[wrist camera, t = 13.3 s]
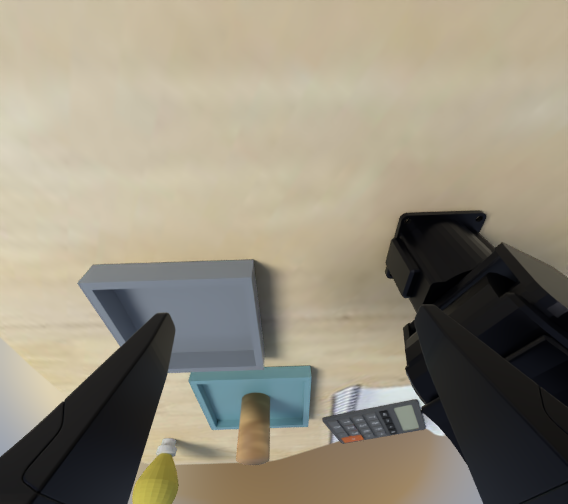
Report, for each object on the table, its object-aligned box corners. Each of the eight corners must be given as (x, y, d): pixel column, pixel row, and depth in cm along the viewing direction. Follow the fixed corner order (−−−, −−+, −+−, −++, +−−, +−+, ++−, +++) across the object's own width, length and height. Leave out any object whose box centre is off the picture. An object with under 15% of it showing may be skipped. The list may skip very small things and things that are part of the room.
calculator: (322, 421, 43) (418, 402, 40) (321, 415, 44) (415, 396, 41) (342, 445, 50) (426, 430, 47) (341, 439, 51) (424, 424, 47)
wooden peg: (270, 392, 37) (269, 452, 32) (270, 406, 40) (269, 464, 34) (240, 392, 37) (234, 453, 31) (242, 406, 39) (237, 465, 34)
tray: (310, 365, 34) (311, 377, 33) (307, 416, 43) (308, 426, 42) (191, 369, 34) (188, 381, 33) (213, 419, 43) (211, 429, 42)
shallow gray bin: (253, 259, 24) (251, 277, 22) (264, 351, 32) (263, 369, 30) (92, 264, 24) (77, 283, 22) (146, 355, 32) (138, 373, 30)
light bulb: (154, 430, 46) (128, 511, 38) (193, 437, 48) (176, 515, 40) (146, 443, 49) (120, 520, 41) (182, 449, 51) (165, 523, 43)
